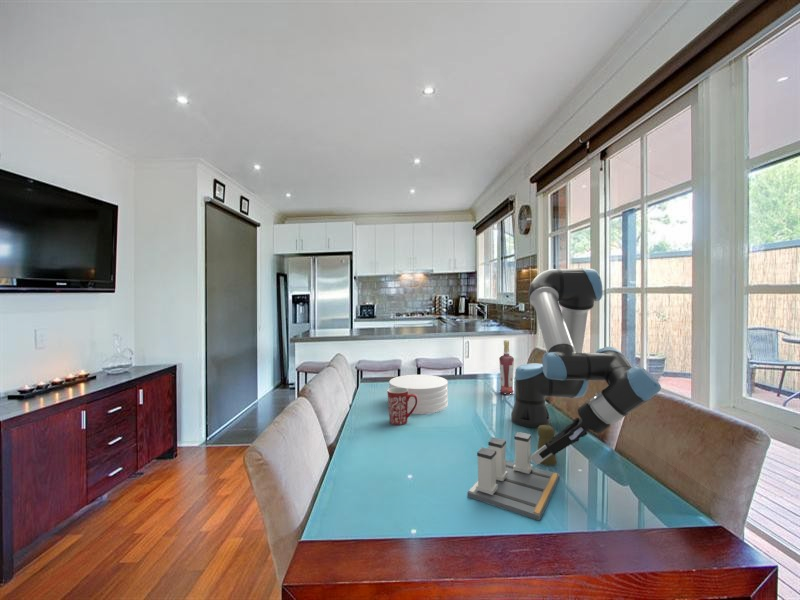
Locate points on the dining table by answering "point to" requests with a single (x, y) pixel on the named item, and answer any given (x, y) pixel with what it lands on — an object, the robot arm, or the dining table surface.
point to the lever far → (487, 471)
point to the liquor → (506, 370)
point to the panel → (521, 491)
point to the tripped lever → (522, 453)
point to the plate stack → (424, 392)
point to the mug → (399, 405)
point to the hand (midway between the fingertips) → (533, 460)
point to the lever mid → (499, 457)
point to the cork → (545, 436)
